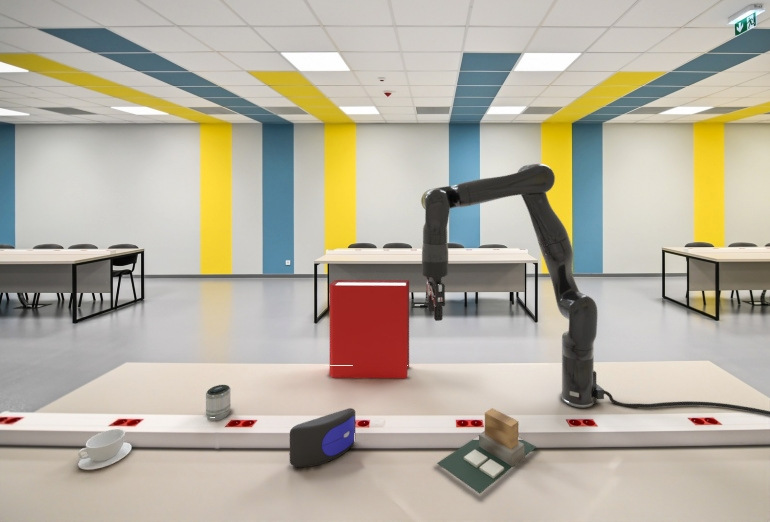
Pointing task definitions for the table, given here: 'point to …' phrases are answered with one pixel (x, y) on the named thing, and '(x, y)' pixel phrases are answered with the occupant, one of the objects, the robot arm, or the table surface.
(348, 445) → the computer mouse
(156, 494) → the table surface
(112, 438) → the teacup
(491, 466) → the smudge
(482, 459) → the white square tile
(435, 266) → the robot arm
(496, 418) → the eraser
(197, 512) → the table surface
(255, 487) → the table surface
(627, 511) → the table surface
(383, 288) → the book
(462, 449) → the slate board
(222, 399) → the camera lens
